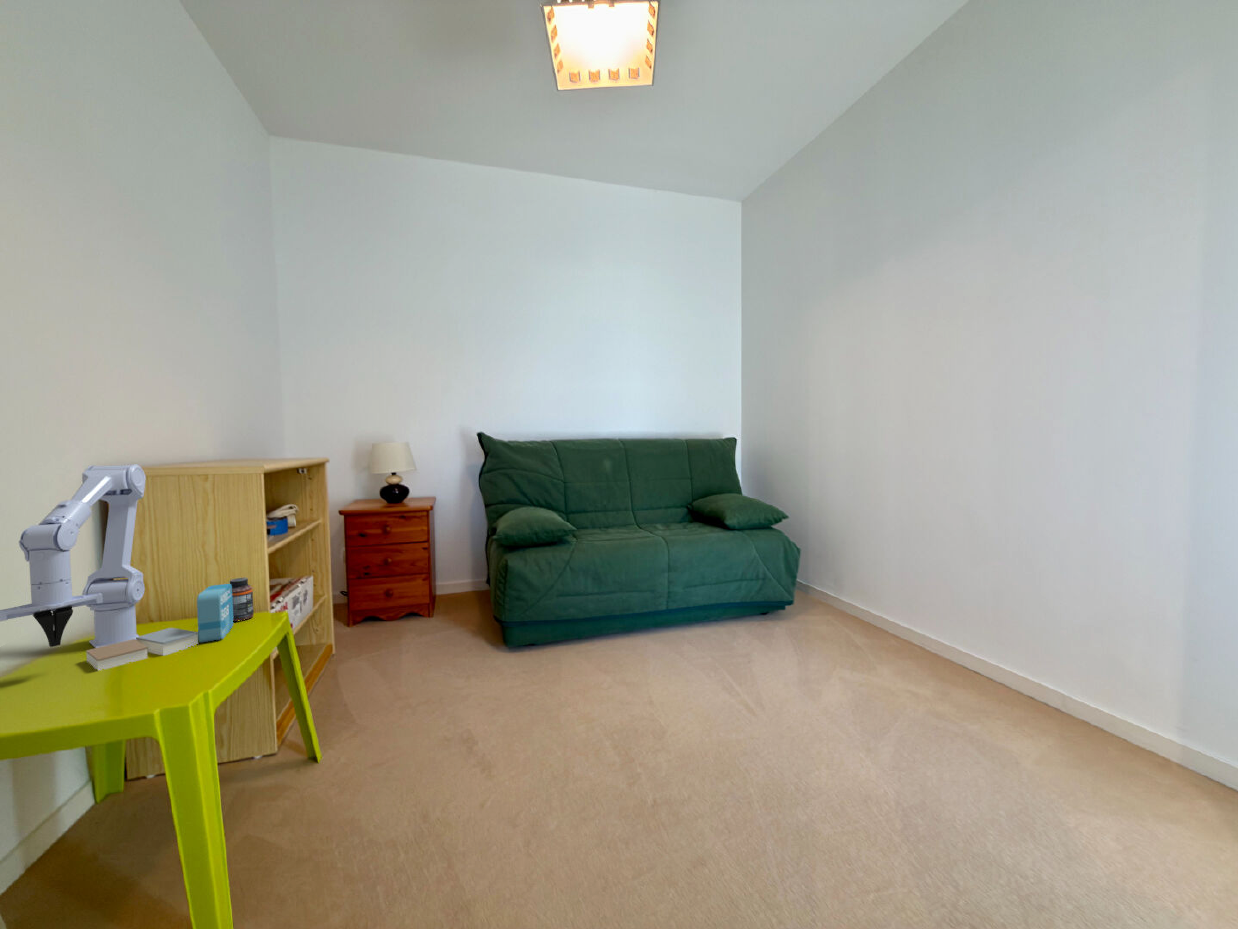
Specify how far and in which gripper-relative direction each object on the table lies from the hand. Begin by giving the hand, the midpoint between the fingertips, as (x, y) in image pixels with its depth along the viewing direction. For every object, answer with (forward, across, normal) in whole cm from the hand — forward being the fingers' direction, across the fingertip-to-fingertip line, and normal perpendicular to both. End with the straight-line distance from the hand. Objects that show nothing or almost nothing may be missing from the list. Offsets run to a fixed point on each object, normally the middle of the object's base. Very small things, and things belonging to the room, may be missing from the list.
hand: (54, 645), depth 106 cm
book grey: (+7, +18, 0) cm, 19 cm away
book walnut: (+7, +9, 0) cm, 12 cm away
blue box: (+7, +28, 0) cm, 28 cm away
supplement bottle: (+7, +36, +10) cm, 38 cm away
